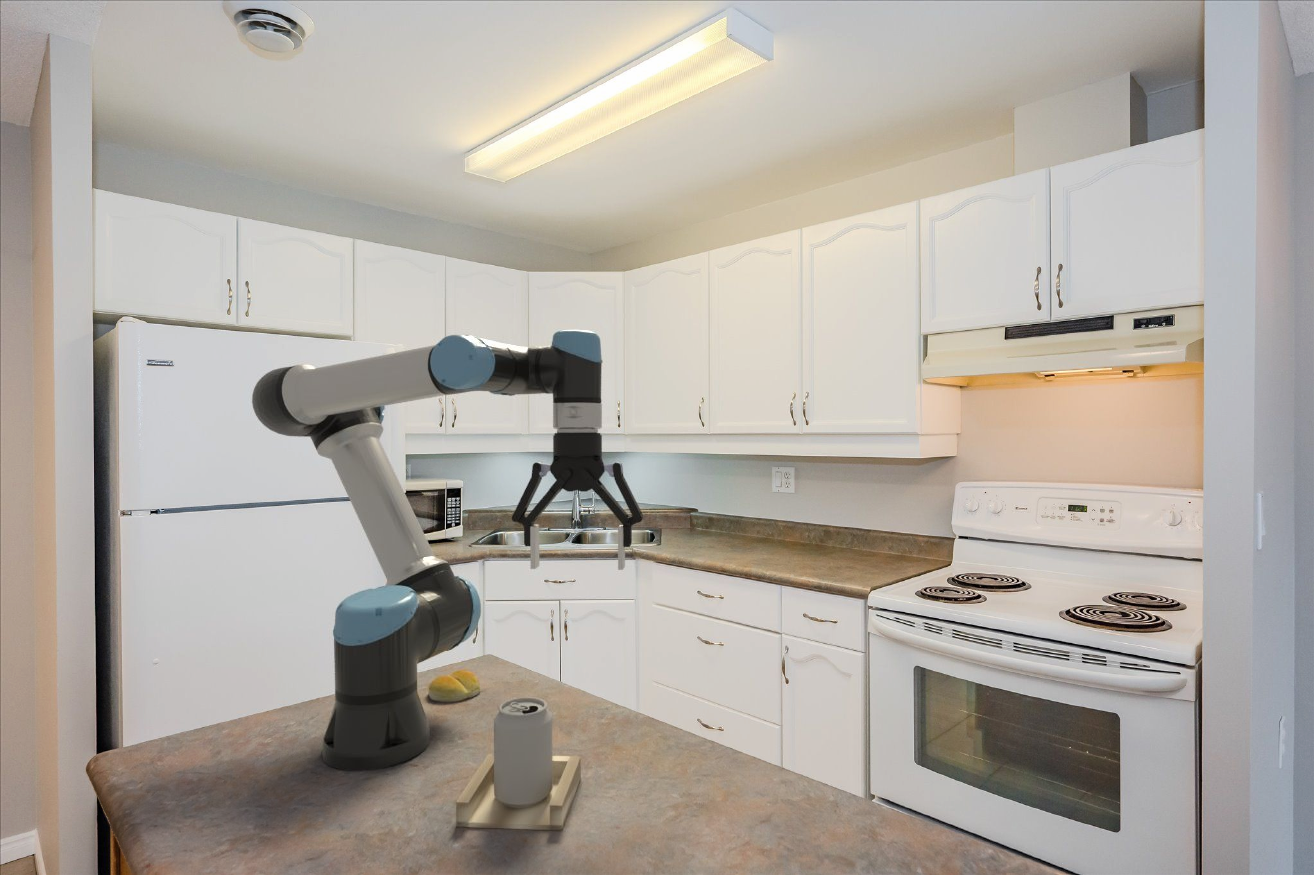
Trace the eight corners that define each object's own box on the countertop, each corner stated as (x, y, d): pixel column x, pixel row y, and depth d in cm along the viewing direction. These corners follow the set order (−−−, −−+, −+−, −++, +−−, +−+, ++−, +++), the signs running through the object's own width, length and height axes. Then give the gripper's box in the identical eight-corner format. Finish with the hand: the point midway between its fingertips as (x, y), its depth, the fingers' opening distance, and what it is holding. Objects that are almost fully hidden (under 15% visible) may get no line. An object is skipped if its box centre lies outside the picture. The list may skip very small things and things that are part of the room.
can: (539, 814, 89) (539, 718, 88) (483, 807, 90) (483, 712, 90) (560, 785, 96) (560, 696, 96) (508, 779, 97) (508, 691, 97)
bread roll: (420, 695, 131) (420, 673, 131) (465, 683, 137) (465, 662, 137) (442, 708, 125) (442, 685, 125) (487, 695, 131) (487, 673, 131)
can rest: (456, 826, 87) (456, 802, 87) (488, 775, 100) (488, 753, 100) (562, 830, 86) (561, 805, 86) (580, 778, 99) (580, 756, 99)
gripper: (491, 431, 108) (492, 571, 109) (655, 431, 107) (656, 573, 107) (505, 431, 116) (506, 562, 116) (659, 431, 114) (659, 563, 114)
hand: (578, 567), depth 111 cm, fingers open, 13 cm apart
